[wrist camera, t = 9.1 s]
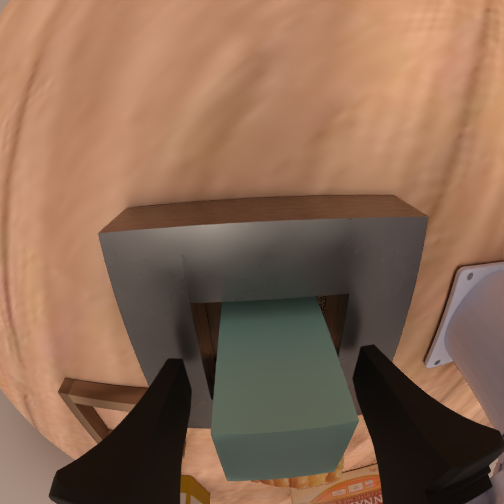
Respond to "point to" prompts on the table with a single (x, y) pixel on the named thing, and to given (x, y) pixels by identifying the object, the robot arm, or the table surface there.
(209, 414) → the socket block
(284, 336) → the teal peg
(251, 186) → the table surface
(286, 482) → the pastry
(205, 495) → the soap bottle
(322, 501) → the coffeecake box
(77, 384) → the stand frame
